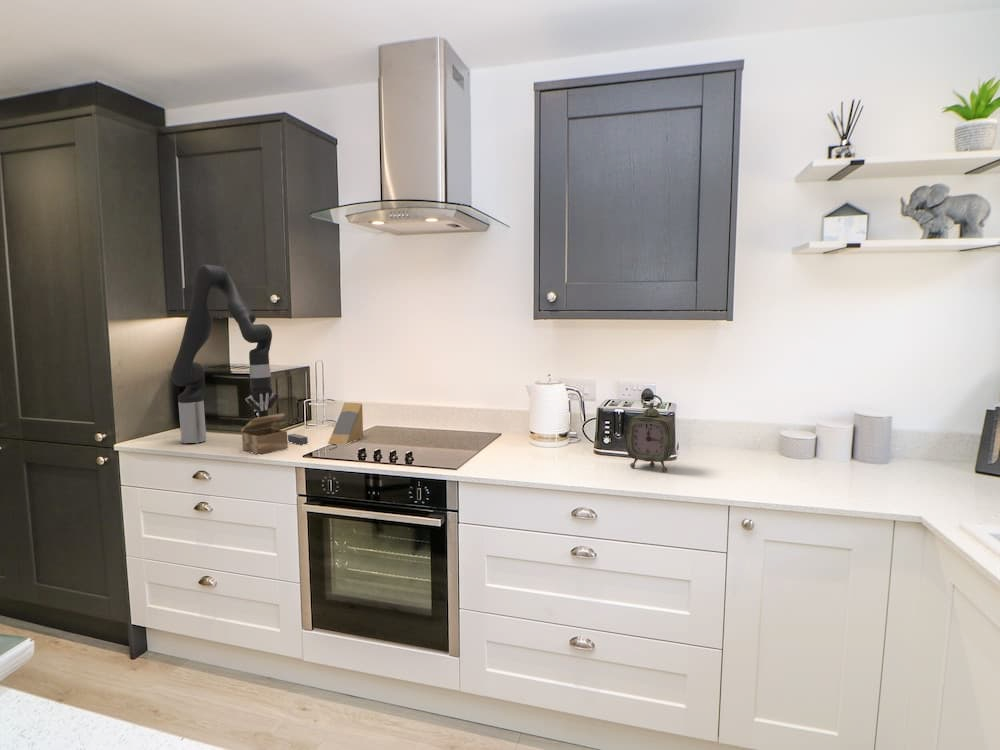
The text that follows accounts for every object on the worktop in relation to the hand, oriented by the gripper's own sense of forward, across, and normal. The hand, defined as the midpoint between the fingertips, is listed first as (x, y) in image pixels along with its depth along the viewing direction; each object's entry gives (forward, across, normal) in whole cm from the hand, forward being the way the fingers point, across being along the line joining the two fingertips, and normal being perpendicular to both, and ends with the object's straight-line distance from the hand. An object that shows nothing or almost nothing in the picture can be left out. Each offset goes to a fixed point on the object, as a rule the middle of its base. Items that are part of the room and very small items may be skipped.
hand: (263, 419), depth 223 cm
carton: (+12, 0, 0) cm, 12 cm away
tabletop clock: (+13, -65, +132) cm, 147 cm away
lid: (+2, 0, 0) cm, 2 cm away
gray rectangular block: (+12, -14, 0) cm, 18 cm away
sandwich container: (+12, -28, +13) cm, 33 cm away
